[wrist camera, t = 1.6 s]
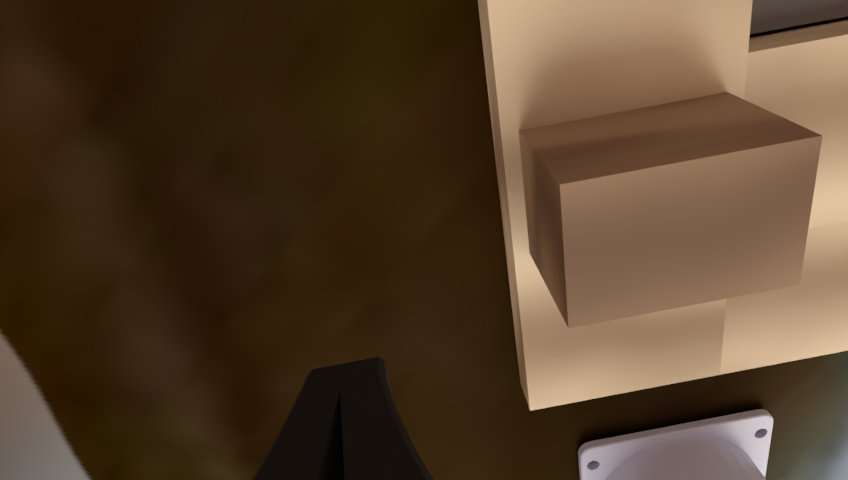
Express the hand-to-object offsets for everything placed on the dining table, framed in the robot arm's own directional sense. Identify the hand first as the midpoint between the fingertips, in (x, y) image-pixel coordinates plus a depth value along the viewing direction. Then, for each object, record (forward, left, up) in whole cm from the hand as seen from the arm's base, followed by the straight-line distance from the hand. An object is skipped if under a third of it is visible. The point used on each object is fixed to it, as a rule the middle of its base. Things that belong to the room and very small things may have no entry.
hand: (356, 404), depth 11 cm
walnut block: (0, -8, -8) cm, 11 cm away
